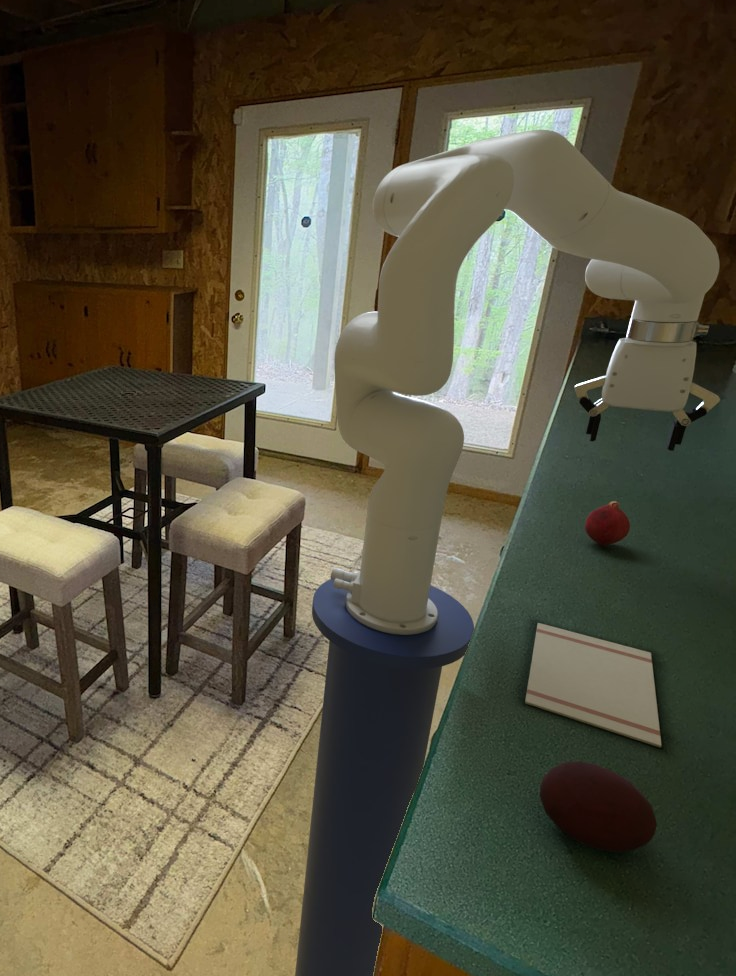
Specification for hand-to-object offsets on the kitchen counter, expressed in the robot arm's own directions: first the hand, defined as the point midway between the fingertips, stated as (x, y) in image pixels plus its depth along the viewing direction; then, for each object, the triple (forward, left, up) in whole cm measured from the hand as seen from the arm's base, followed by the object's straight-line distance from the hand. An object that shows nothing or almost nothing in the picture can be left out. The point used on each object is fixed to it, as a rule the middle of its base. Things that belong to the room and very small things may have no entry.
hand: (630, 443), depth 97 cm
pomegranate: (0, 0, -18) cm, 18 cm away
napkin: (-1, -40, -18) cm, 44 cm away
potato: (-1, -64, -18) cm, 67 cm away
